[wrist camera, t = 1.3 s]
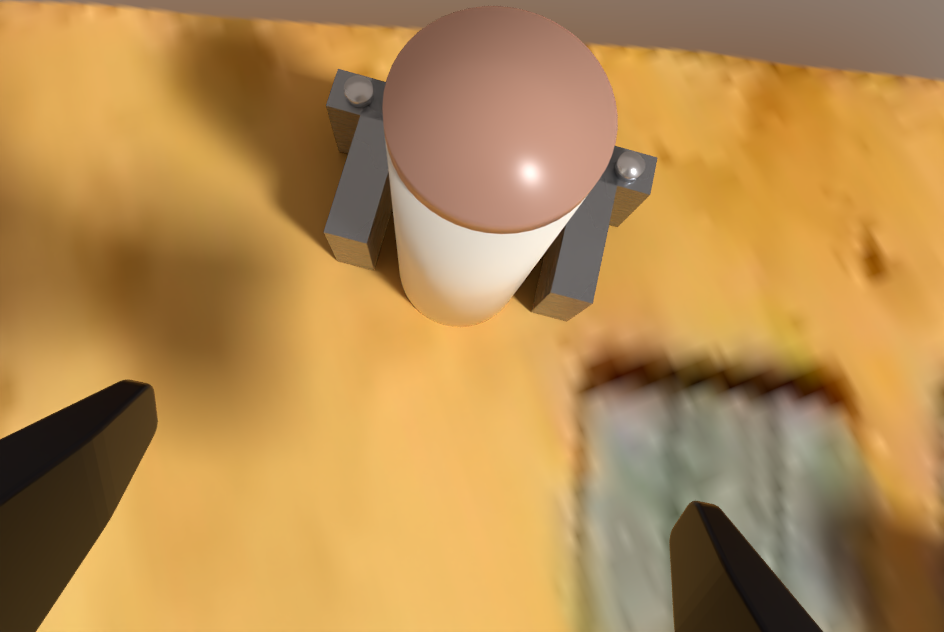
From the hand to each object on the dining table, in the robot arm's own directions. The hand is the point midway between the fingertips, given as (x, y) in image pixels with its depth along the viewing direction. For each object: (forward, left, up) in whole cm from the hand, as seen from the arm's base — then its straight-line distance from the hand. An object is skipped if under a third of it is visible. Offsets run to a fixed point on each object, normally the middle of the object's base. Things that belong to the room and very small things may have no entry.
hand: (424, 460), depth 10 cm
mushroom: (+7, 0, -13) cm, 15 cm away
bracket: (+9, 0, -13) cm, 16 cm away
